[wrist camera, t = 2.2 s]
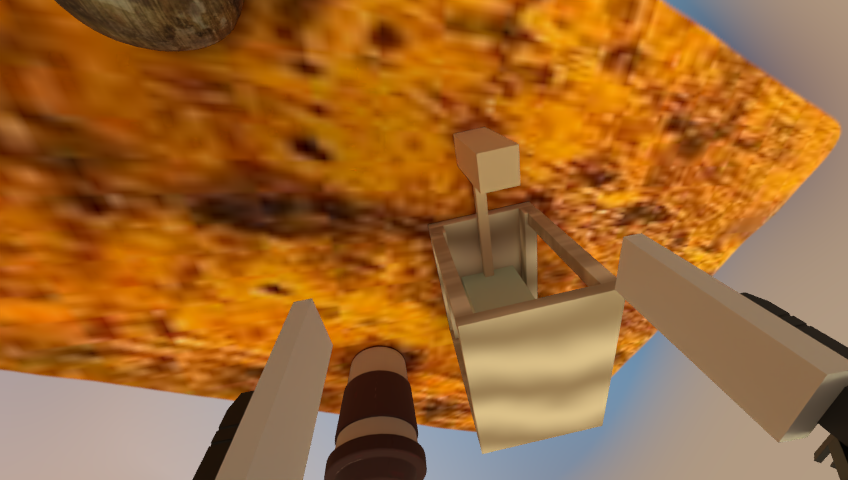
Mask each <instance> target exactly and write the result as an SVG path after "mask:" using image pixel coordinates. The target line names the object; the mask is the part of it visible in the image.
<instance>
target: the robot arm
mask: <svg viewBox="0 0 848 480" xmlns="http://www.w3.org/2000/svg"><path fill="white" fill-rule="evenodd" d="M615 290H616V291H617V292H618V293H619V294H620V295H621V296H622V297H623V298H624V299H625V300H627V301H628V302H629V303H630V304H631V305H632V306H633V307H634V308H635V309H636V310H637V311H638V312H639V313H640V314H642V315H643V316H644V317H645V318H646V319H647V320H648V321H649V322H650V323H651V324H652V325H653V326H654V327H655V328H656V329H658V330H659V331H660V332H661V333H662V334H663V335H664V336H665V337H666V338H667V339H668V340H669V341H670V342H671V343H673V344H674V345H675V346H676V347H677V348H678V349H679V350H680V351H681V352H682V353H683V354H684V355H685V356H686V357H687V358H689V359H690V360H691V361H692V362H693V363H694V364H695V365H696V366H697V367H698V368H699V369H700V370H701V371H702V372H703V373H705V374H706V375H707V376H708V377H709V378H710V379H711V380H712V381H713V382H714V383H715V384H716V385H717V386H718V387H720V388H721V389H722V390H723V391H724V392H725V393H726V394H727V395H728V396H729V397H730V398H731V399H732V400H733V401H734V402H736V403H737V404H738V405H739V406H740V407H741V408H742V409H743V410H744V411H745V412H746V413H747V414H748V415H749V416H751V417H752V418H753V419H754V420H755V421H756V422H757V423H758V424H759V425H760V426H761V427H762V428H763V429H764V430H765V431H766V432H768V433H769V434H770V435H771V436H772V437H773V438H774V439H775V440H776V441H777V442H778V443H781V442H786V441H791V440H795V439H800V438H806V437H808V435H809V434H810V433H811V431H812V430H813V429H814V428H815V426H816V425H817V424H820V425H821V426H822V427H823V428H824V429H826V430H827V431H828V432H829V433H831V434H830V435H829V436H828V437H827V439H826V440H825V441H824V442H823V443H822V445H821V446H820V447H819V448H818V450H817V451H816V452H815V453H814V461H817V462H820V463H821V462H822V461H823V460H824V459H825V458H826V457H827V456H828V455H829V453H831V455H832V458H833V462H832V464H831V467H833V468H835V469H837V472H838V475H839V477H840V480H848V347H846V346H844V345H842V344H841V343H839V342H837V341H836V340H834V339H832V338H830V337H829V336H827V335H825V334H824V333H822V332H820V331H819V330H817V329H815V328H814V327H812V326H807V325H806V323H805V322H803V321H801V320H800V319H798V318H796V317H795V316H790V315H789V313H788V312H786V311H784V310H783V309H781V308H779V307H777V306H776V305H774V304H772V303H771V302H769V301H767V300H764V299H761V298H758V297H756V296H753V295H751V294H748V293H738V292H737V291H735V290H733V289H731V288H730V287H728V286H727V285H725V284H723V283H722V282H720V281H718V280H717V279H715V278H714V277H712V276H710V275H709V274H707V273H705V272H704V271H702V270H701V269H699V268H697V267H696V266H694V265H692V264H691V263H689V262H687V261H686V260H684V259H683V258H681V257H679V256H678V255H676V254H674V253H673V252H671V251H669V250H668V249H666V248H665V247H663V246H661V245H660V244H658V243H656V242H655V241H653V240H651V239H650V238H648V237H647V236H645V235H643V234H642V233H641V234H636V235H631V236H626V237H623V242H622V248H621V254H620V260H619V267H618V273H617V279H616V285H615ZM332 347H333V345H332V342H331V340H330V338H329V336H328V333H327V331H326V329H325V327H324V324H323V322H322V320H321V318H320V316H319V313H318V311H317V309H316V307H315V304H314V302H313V300H312V299H307V300H302V301H297V302H294V303H293V305H292V307H291V309H290V312H289V314H288V316H287V318H286V321H285V323H284V325H283V327H282V330H281V332H280V334H279V336H278V339H277V341H276V343H275V345H274V348H273V350H272V352H271V354H270V357H269V359H268V361H267V363H266V366H265V368H264V370H263V373H262V375H261V377H260V379H259V382H258V384H257V386H256V388H255V391H250V392H245V393H241V394H240V395H239V397H238V398H237V399H236V400H235V401H234V403H233V404H232V405H231V406H230V407H229V409H228V410H227V412H226V414H225V416H224V418H223V420H222V422H221V424H220V426H219V430H218V431H217V432H216V434H215V436H214V438H213V440H212V442H211V446H209V448H208V450H207V452H206V454H205V456H204V458H203V460H202V462H201V464H200V466H199V468H198V470H197V472H196V474H195V476H194V478H193V480H303V476H304V472H305V467H306V463H307V459H308V454H309V449H310V445H311V441H312V436H313V432H314V427H315V422H316V418H317V414H318V409H319V405H320V400H321V396H322V391H323V387H324V382H325V378H326V373H327V369H328V364H329V360H330V356H331V351H332Z"/></svg>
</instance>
